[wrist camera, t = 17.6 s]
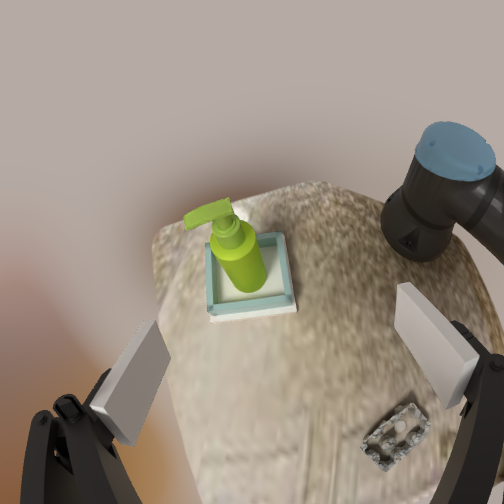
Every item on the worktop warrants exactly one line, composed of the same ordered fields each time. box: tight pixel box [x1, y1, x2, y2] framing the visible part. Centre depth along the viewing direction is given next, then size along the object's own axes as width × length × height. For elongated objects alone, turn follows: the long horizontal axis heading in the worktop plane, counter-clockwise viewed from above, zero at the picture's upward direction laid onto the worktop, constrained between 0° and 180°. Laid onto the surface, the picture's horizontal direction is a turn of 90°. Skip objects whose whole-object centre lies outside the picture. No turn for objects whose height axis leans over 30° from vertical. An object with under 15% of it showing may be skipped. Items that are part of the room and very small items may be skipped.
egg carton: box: [360, 401, 431, 472], centre depth 30 cm, size 11×8×4 cm
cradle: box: [205, 231, 297, 324], centre depth 45 cm, size 14×14×4 cm
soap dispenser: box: [183, 198, 267, 293], centre depth 37 cm, size 6×7×20 cm
